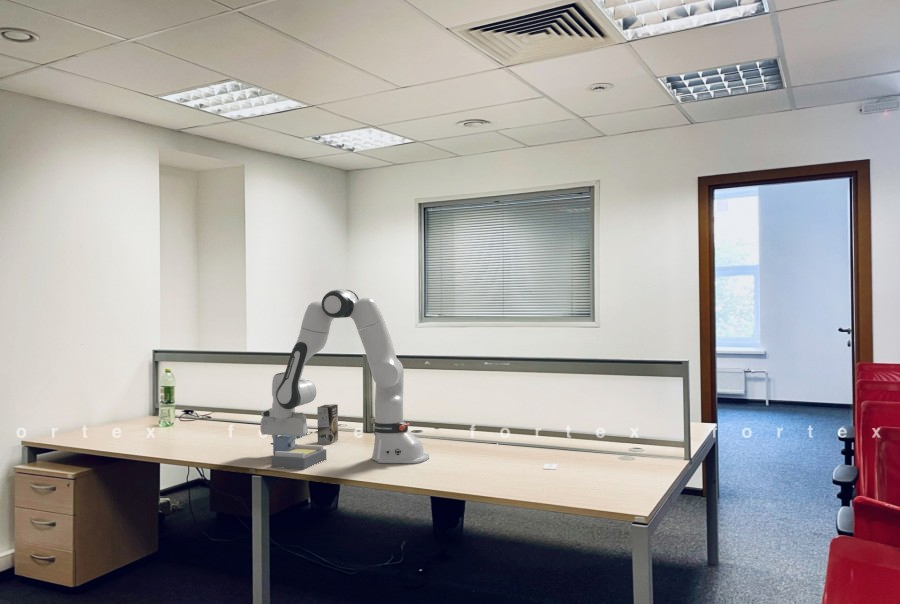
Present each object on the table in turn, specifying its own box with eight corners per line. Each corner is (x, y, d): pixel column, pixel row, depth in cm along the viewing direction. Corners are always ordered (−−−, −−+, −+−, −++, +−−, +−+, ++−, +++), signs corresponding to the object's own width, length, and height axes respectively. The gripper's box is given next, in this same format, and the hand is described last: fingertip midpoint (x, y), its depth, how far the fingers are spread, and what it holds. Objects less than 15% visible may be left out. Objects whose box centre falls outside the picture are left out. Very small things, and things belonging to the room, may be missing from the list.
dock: (326, 459, 259) (326, 445, 259) (304, 469, 244) (303, 454, 244) (295, 457, 264) (295, 443, 264) (271, 467, 249) (271, 452, 249)
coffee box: (331, 444, 289) (330, 407, 289) (317, 444, 290) (316, 407, 291) (338, 440, 298) (338, 404, 298) (325, 439, 299) (324, 404, 299)
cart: (295, 453, 272) (294, 435, 272) (284, 457, 265) (283, 438, 265) (284, 452, 274) (284, 434, 274) (273, 457, 266) (273, 438, 266)
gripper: (310, 411, 269) (310, 445, 269) (267, 410, 276) (267, 443, 275) (301, 414, 263) (302, 449, 263) (257, 412, 270) (258, 446, 270)
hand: (284, 446), depth 269 cm, fingers closed on cart, 5 cm apart
